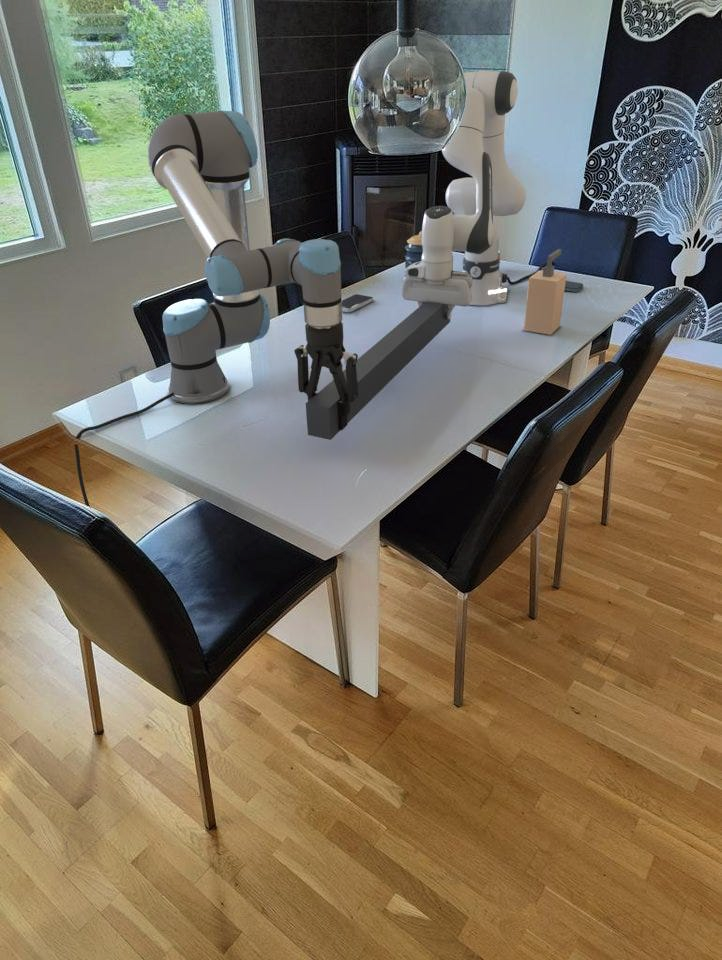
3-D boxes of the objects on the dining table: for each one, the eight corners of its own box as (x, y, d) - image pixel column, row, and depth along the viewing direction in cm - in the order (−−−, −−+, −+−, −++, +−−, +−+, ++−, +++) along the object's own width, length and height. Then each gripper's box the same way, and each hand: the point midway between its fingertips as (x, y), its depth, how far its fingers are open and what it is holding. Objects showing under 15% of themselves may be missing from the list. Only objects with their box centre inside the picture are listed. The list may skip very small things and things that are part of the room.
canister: (411, 285, 249) (411, 236, 239) (400, 276, 259) (400, 228, 250) (444, 281, 252) (445, 232, 242) (431, 272, 262) (432, 225, 253)
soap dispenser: (550, 335, 203) (559, 261, 191) (523, 330, 207) (530, 257, 195) (564, 322, 212) (573, 250, 200) (538, 317, 216) (545, 247, 204)
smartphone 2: (577, 289, 235) (536, 281, 242) (576, 293, 236) (535, 286, 243) (584, 283, 240) (544, 276, 247) (583, 287, 241) (543, 280, 248)
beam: (330, 440, 142) (329, 408, 138) (307, 434, 144) (305, 403, 140) (450, 321, 199) (451, 296, 195) (432, 319, 202) (433, 294, 197)
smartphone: (373, 297, 235) (349, 309, 225) (373, 300, 236) (349, 313, 226) (355, 294, 239) (330, 305, 229) (356, 297, 240) (331, 309, 229)
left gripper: (374, 322, 133) (376, 424, 146) (292, 310, 139) (301, 409, 152) (358, 335, 127) (361, 440, 140) (273, 322, 134) (284, 424, 147)
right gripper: (476, 269, 186) (473, 317, 194) (407, 263, 194) (407, 309, 201) (469, 276, 181) (467, 325, 189) (399, 269, 189) (399, 316, 197)
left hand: (330, 424), depth 146 cm, fingers closed on beam, 6 cm apart
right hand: (435, 317), depth 195 cm, fingers closed on beam, 5 cm apart
